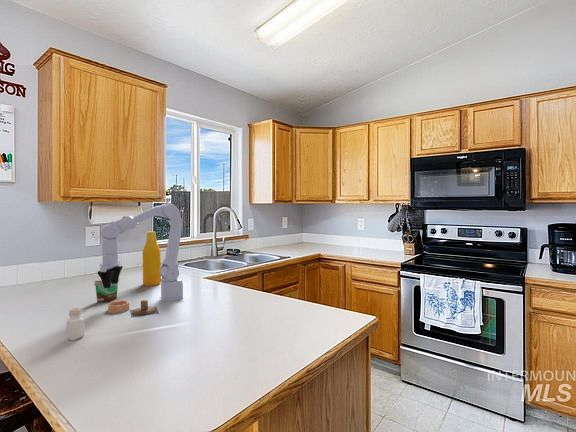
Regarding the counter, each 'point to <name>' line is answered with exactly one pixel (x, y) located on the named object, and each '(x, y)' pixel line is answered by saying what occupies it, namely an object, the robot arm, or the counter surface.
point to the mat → (143, 315)
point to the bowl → (118, 306)
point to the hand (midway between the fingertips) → (110, 285)
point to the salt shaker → (75, 324)
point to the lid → (144, 309)
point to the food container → (106, 292)
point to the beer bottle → (151, 261)
